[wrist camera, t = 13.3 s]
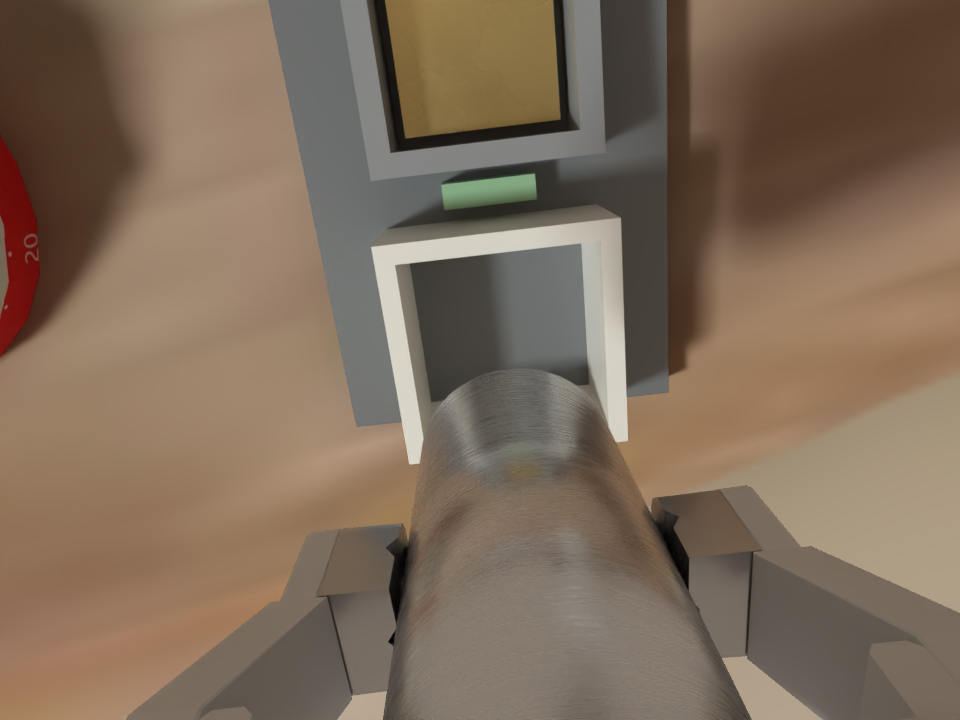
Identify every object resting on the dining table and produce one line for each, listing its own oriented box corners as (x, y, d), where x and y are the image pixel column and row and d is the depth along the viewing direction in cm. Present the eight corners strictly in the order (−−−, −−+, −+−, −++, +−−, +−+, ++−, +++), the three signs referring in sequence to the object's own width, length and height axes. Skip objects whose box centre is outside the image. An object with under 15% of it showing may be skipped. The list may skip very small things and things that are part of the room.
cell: (607, 357, 12) (890, 801, 4) (614, 526, 13) (835, 1109, 5) (408, 379, 12) (294, 859, 4) (435, 544, 14) (390, 1147, 5)
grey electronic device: (654, -99, 19) (711, -172, 14) (659, 380, 24) (701, 435, 20) (268, -49, 19) (207, -104, 14) (361, 413, 24) (338, 474, 20)
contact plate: (546, -59, 17) (549, -65, 17) (557, 119, 19) (560, 119, 19) (381, -38, 18) (378, -43, 17) (407, 138, 19) (405, 138, 19)
